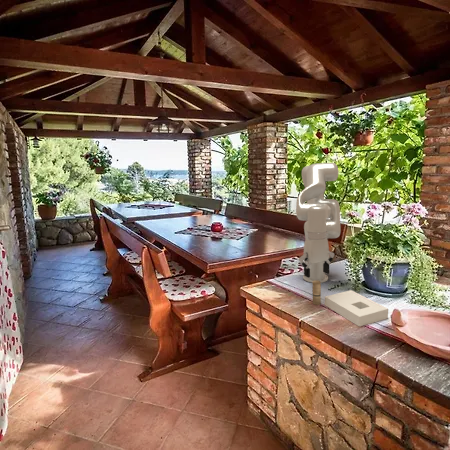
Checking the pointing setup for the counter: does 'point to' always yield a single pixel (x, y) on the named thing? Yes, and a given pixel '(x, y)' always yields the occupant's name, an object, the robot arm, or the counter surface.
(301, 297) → the counter surface
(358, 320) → the peg board
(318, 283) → the beech peg
